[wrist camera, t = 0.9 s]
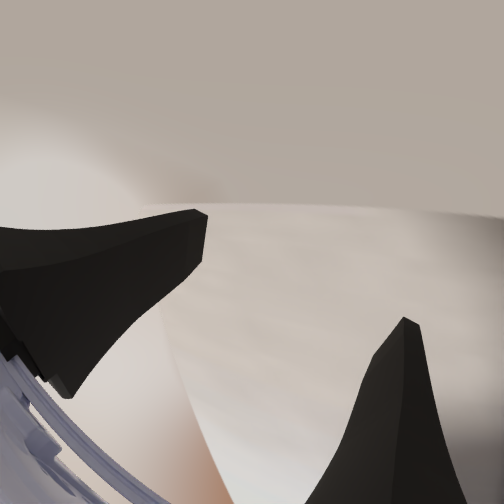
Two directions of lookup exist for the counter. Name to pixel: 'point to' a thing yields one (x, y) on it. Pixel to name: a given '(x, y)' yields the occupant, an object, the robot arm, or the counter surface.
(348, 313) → the counter surface
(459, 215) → the counter surface
